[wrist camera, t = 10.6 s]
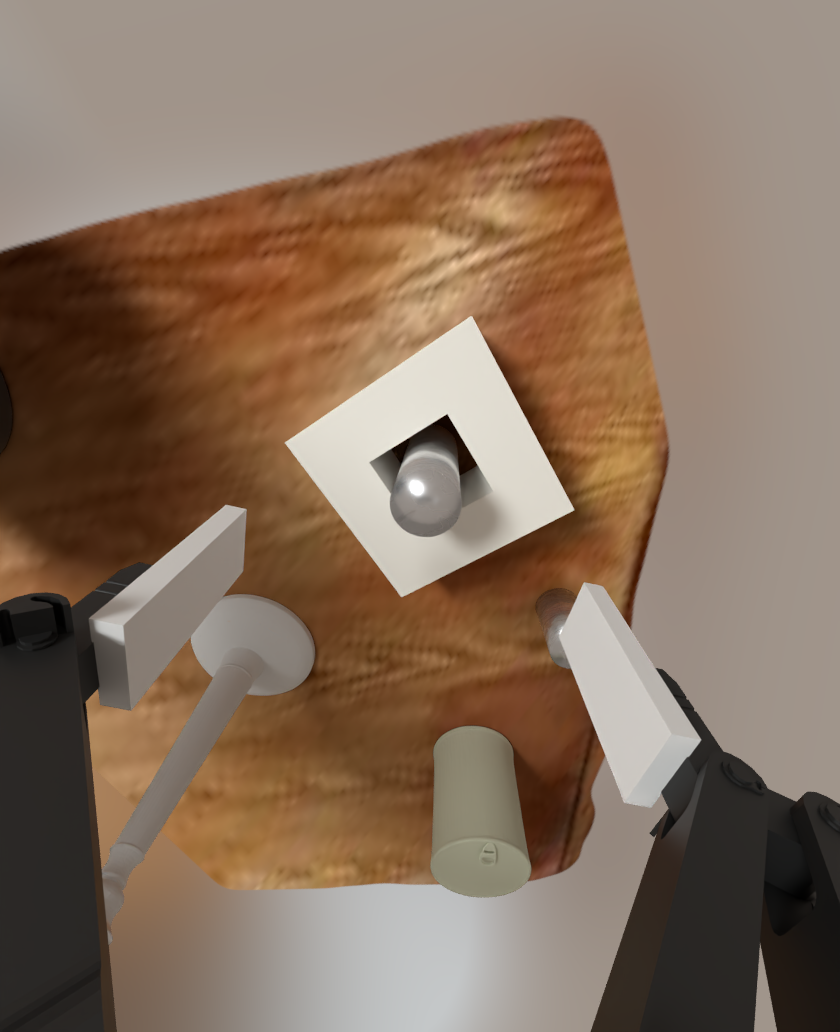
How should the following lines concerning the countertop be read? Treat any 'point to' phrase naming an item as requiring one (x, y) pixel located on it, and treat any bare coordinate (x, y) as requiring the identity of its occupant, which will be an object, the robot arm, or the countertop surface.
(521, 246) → the countertop surface
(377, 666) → the countertop surface
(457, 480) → the long pin
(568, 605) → the short pin
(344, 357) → the countertop surface
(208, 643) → the candlestick
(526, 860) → the can
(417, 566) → the hole block
